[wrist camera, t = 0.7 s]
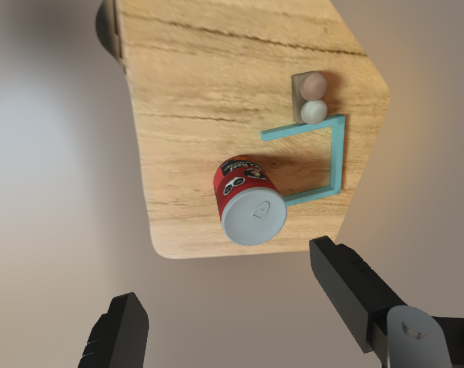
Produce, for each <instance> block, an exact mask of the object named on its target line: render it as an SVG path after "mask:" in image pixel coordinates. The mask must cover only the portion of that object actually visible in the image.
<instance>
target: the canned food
mask: <svg viewBox="0 0 464 368" xmlns="http://www.w3.org/2000/svg"><path fill="white" fill-rule="evenodd" d="M214 190H215V195H216V200H217V205H218V210H219V215H220V220H221V224H222V228H223V230H224V233H225V235H226V236H227V237H228V239H230V240H231V241H232V242H234V243H236V244H239V245H243V246H253V245H258V244H261V243H264V242H266V241H268V240H270V239H271V238H273V237H274V236H275V235H276V234H277V233H278V232H279V231H280V230H281V228H282V227H283V225H284V223H285V221H286V217H287V207H286V204H285V201H284V200H283V198H282V196H281V195H280V193H279V192H278V190H277V189H276V187H275V186H274V185H273V183H272V182H271V180H270V179H269V178H268V176H267V175H266V174H265V172H264V171H263V169H262V168H261V167H260V165H259V164H258V163H257V162H256V161H255V160H253V159H251V158H248V157H244V156H236V157H232V158H230V159H228V160H226V161H225V162H223V163H222V164H221V165H220V167H219V168H218V170H217V172H216V174H215V176H214Z"/></svg>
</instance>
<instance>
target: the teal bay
mask: <svg viewBox="0 0 464 368" xmlns="http://www.w3.org/2000/svg"><path fill="white" fill-rule="evenodd" d="M329 126H332V146H331V174H330V185H329V186H325V187H321V188H317V189H313V190H309V191H305V192H301V193H297V194H293V195H289V196H285V197H282V198H283V200H284V201H285V204H286V207H287V206H291V205H295V204H299V203H303V202H307V201H311V200H315V199H319V198H323V197H327V196H331V195H335V194H339V193H340V190H341V174H342V158H343V142H344V126H345V116H344V115H341V114H336V115H332V116H327V117H325V119H324V120H323V121H322V122H321V123H319V124H316V125H310V124H307V123H301V124H299V123H297V124H292V125H288V126H283V127H279V128H275V129H270V130H266V131H261V139H262V140H263V141H268V140H272V139H277V138H281V137H285V136H290V135H294V134H298V133H303V132H307V131H312V130H316V129H320V128H325V127H329Z"/></svg>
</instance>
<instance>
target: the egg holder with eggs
mask: <svg viewBox="0 0 464 368" xmlns="http://www.w3.org/2000/svg"><path fill="white" fill-rule="evenodd" d="M291 78H292V100H293V121H295V122H297V123H299V124H301V123H307V124H310V125H316V124H319V123H321V122H322V121H323V120H324V119H325V117H326V115H327V106H326V104H325V103H324V102H323V101H322V100H320V99H321V98H322V97H323V96H324V95H325V94H326V92H327V89H328V81H327V79H326V77H325V76H324V75H322V74H321V71H310V72H305V73H301V74H296V75H291Z"/></svg>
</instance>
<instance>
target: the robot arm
mask: <svg viewBox="0 0 464 368" xmlns="http://www.w3.org/2000/svg"><path fill="white" fill-rule="evenodd" d="M309 246H310V259H311V267H312V270H313V273H314V275H315V277H316V279H317V280H318V282H319V283H320V285H321V287H322V288H323V290H324V291H325V293H326V294H327V296H328V297H329V299H330V300H331V302H332V304H333V305H334V307H335V308H336V310H337V312H338V313H339V315H340V316H341V318H342V319H343V321H344V322H345V324H346V325H347V327H348V329H349V330H350V332H351V333H352V335H353V337H354V338H355V340H356V341H357V343H358V345H359V346H360V347H361V349H362V351H363V352H364V354H365V353H368V352H371V351H374V352H375V353H376V355H377V356H378V358H379V359H380V368H464V318H448V317H434V316H430V315H428V314H427V313H425V312H423V311H422V310H420V309H417V308H415V307H411V306H408V305H407V304H406V303H404V302H403V301H402V300H401V299H400V298H399V297H398V296H397V294H396V293H395V292H394V291H393V290H392V289H391V288H390V287H389V286H388V285H387V284H386V283H385V282H384V281H383V280H382V279H381V278H380V277H379V276H378V275H377V274H376V273H375V272H374V270H372V269H371V268H370V267H369V265H368V264H367V263H366V262H364V261H363V259H362V258H361V257H360V256H359V255H358V254H357V253H356V252H355V251H354V250H353V249H351V248H349V247H347V246H346V245H344V244H339V245H335V244H334V243H333V241H332V240H331V239H330V238H329V237H328V236H322V237H319V238H315V239H312V240H310V241H309ZM148 330H149V320H148V315H147V313H146V311H145V309H144V308H143V307H142V305H141V303H140V301H139V300H138V298H137V297H136V295H135V293H133V292H130V293H127V294H124V295H120V296H117V297H114V298H113V299H112V301H111V303H110V306H109V310H108V313H106V314H102V315H101V317H100V318H99V320H98V321H97V323H96V324H95V325H94V327H93V328H92V331H91V333H90V336H89V339H88V342H87V346H86V347H85V349H84V352H83V355H82V356H83V357H82V358H81V360H80V363H79V365H78V368H143V362H144V356H145V349H146V343H147V336H148Z"/></svg>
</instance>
